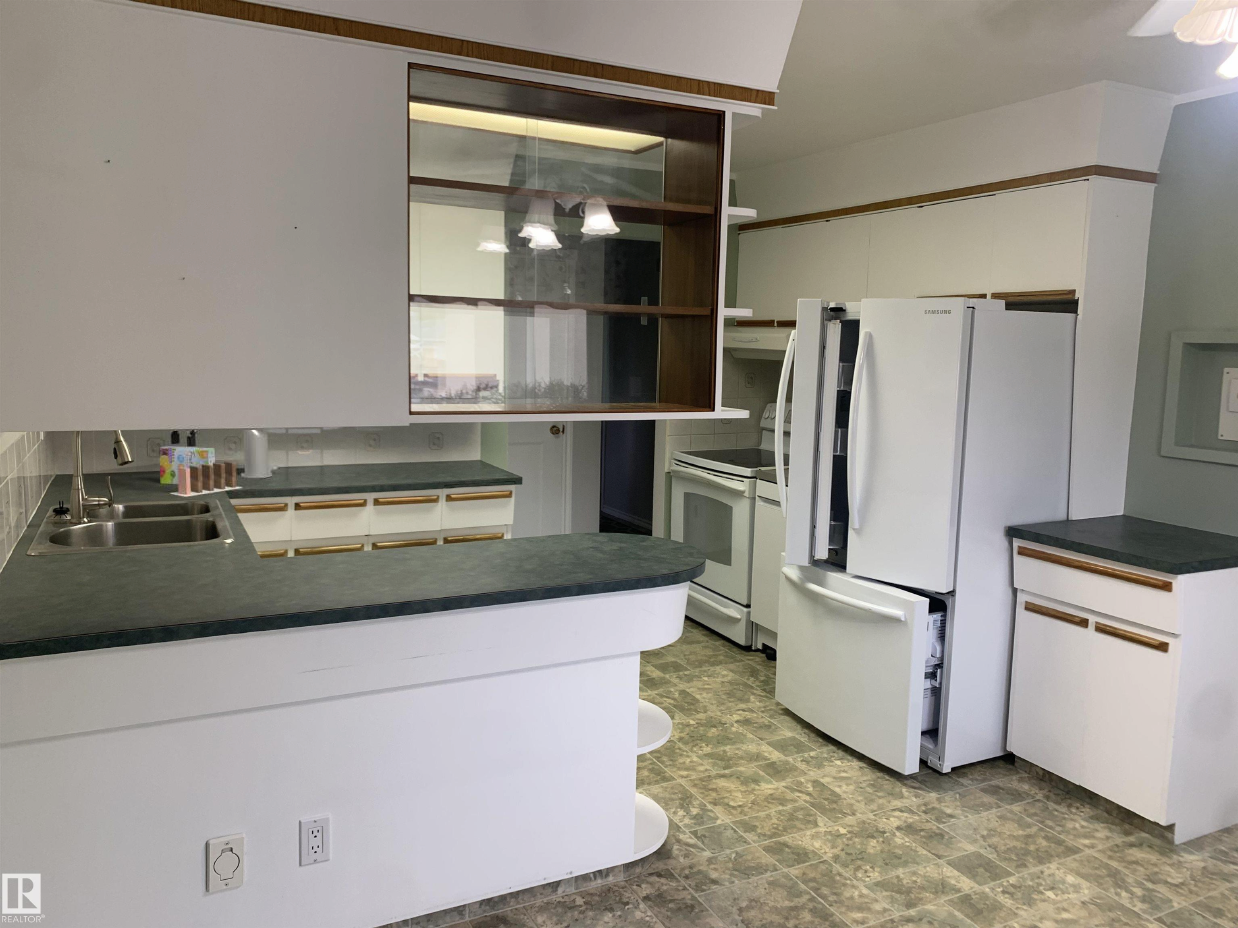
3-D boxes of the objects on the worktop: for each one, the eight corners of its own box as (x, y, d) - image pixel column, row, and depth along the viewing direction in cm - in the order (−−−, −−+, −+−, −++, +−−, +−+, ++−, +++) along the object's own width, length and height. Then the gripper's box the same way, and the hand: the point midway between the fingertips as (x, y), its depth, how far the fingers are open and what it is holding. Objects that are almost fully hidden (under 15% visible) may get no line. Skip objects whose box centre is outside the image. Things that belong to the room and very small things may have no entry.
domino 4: (217, 487, 353) (216, 462, 352) (225, 488, 351) (224, 464, 350) (213, 487, 352) (212, 463, 351) (221, 489, 350) (220, 464, 348)
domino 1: (182, 492, 341) (181, 467, 339) (190, 494, 338) (189, 468, 337) (178, 493, 339) (177, 467, 338) (186, 494, 337) (185, 469, 335)
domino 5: (228, 485, 358) (227, 461, 356) (236, 487, 355) (235, 462, 354) (224, 486, 356) (224, 461, 355) (232, 487, 354) (232, 463, 352)
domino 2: (194, 490, 345) (193, 465, 343) (202, 492, 342) (201, 467, 341) (190, 491, 344) (189, 466, 342) (198, 493, 341) (197, 467, 340)
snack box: (216, 484, 363) (215, 447, 361) (208, 486, 358) (207, 449, 355) (167, 481, 365) (166, 445, 363) (159, 483, 360) (157, 447, 357)
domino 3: (206, 489, 349) (205, 464, 348) (214, 490, 347) (213, 465, 345) (202, 489, 348) (201, 464, 346) (210, 491, 345) (209, 466, 344)
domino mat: (226, 485, 360) (226, 484, 360) (243, 488, 355) (242, 487, 355) (169, 494, 339) (169, 493, 339) (185, 497, 334) (185, 496, 334)
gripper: (204, 401, 332) (206, 446, 335) (176, 397, 341) (178, 441, 344) (186, 402, 326) (188, 448, 329) (157, 399, 334) (160, 443, 337)
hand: (183, 445), depth 336 cm, fingers open, 9 cm apart
